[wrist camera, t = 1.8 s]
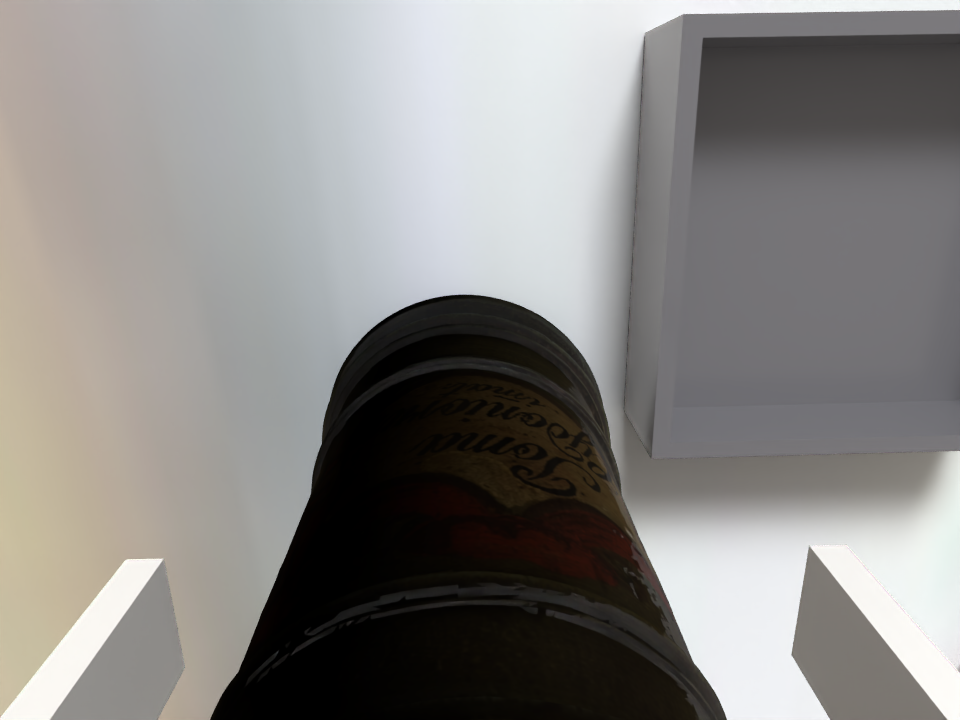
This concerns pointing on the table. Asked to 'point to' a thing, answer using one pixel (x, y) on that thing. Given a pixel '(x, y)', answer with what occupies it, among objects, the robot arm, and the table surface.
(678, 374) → the tray
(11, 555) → the table surface
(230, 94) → the table surface
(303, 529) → the container
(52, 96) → the table surface
